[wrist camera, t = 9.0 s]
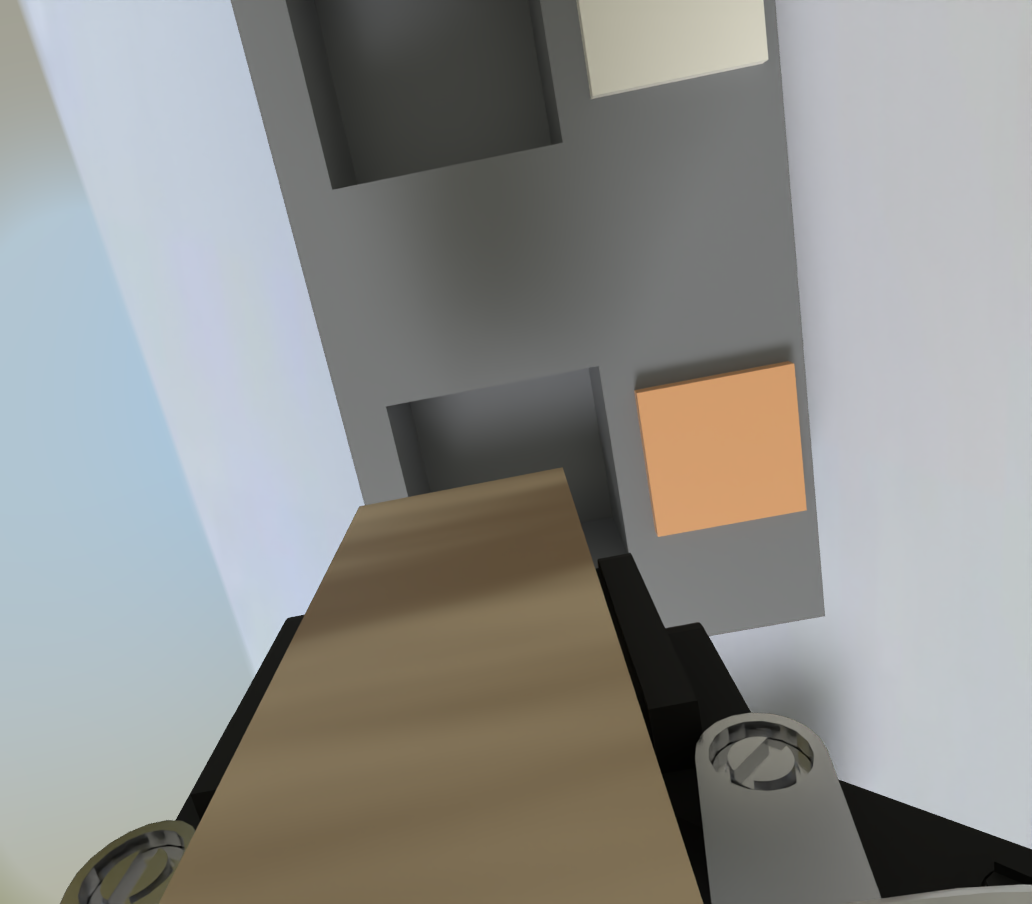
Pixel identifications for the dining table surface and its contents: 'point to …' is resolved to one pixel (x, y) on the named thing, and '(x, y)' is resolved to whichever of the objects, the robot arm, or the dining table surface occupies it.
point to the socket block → (561, 269)
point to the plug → (448, 727)
